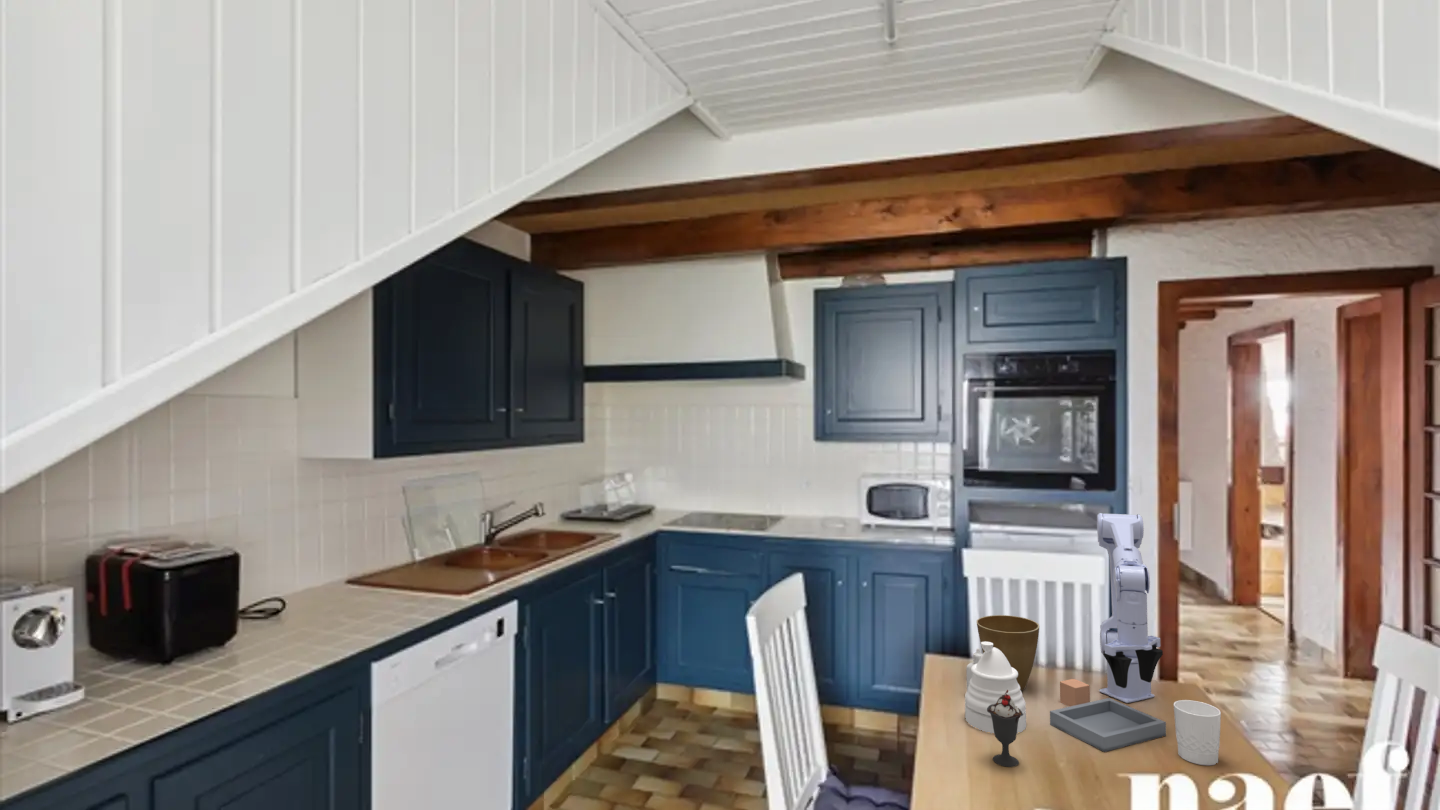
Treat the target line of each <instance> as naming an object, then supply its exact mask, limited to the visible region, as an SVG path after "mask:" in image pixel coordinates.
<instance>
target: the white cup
mask: <svg viewBox="0 0 1440 810" xmlns="http://www.w3.org/2000/svg"><path fill="white" fill-rule="evenodd" d="M1173 712H1174V713H1173V715H1174V716H1173V717H1174V724H1175V725H1174V726H1175V729H1174V730H1175V735H1176V736H1175V737H1176V742H1177V753H1178V756H1179V757H1180V758H1181V759H1183V760H1185V761H1187V762H1189V763H1193V764H1195V765H1199V766H1215V765H1217V764H1218V763H1219V752H1220V751H1219V750H1220V744H1221V743H1220V742H1221V741H1220V738H1221V719H1222V717H1221V714H1222V713H1221V710H1220V709H1219V708H1217V707H1216V706H1214V705H1211V704H1209V703H1206V702H1202V701H1197V700H1190V699H1182V700H1181V699H1179V700H1176V701H1174V702H1173ZM1216 763H1217V764H1216Z"/></svg>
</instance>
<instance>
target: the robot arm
mask: <svg viewBox="0 0 1440 810" xmlns="http://www.w3.org/2000/svg"><path fill="white" fill-rule="evenodd" d="M1144 529H1145V528H1144V520H1143V516H1141V515H1140V514H1139V513H1138V514H1128V513H1126V514H1125V513H1122V514H1120V513H1102V512H1098V514H1097V515H1096V531H1097V542H1098V545H1099V546H1100V547H1101V548H1104V549H1105V550H1106V551H1107V554H1108V558H1109V567H1110V568H1109V569H1110V574H1109V575H1110V590H1111V591H1110V593H1111V594H1110V595H1111V597H1110V598H1111V613H1112V614H1111V616H1110V617H1108V618H1107V619H1105V620H1103V621H1101V624H1100V632H1099V643H1100V644H1099V645H1100V653H1101V654H1102V655H1103V657H1104V659H1105V660H1106V671H1107V672H1106V675H1107V676H1106V677H1107V678H1106V679H1107V680H1106V681H1107V687H1105V688H1101V689H1099V690H1098V692H1100V693H1102V694H1105V695H1106V696H1108V697H1112V698H1113V699H1116V700H1118V701H1120V702H1124V704H1125V703H1126V704H1128V703H1129V704H1130V703H1134V702H1139V701H1144V700H1147V699H1152V698H1155V694H1154V693H1152V681H1153V678H1154V674H1155V670H1156V667H1157V665H1158V663H1159V660H1160V659H1161V657H1162V656H1163V655H1164V651H1163V650H1162V649H1160V647H1161V637H1157V636H1155V635H1149V634H1148V632H1149V631H1148V629H1149V628H1148V625H1149V624H1148V594H1149V593H1150V588H1151V586H1150V585H1151V581H1150V571H1149V570H1148V566H1147V565H1146V564H1144V562H1143V557H1142V552H1141V551H1140V548H1141V545H1142V542H1143V538H1144ZM1111 629H1112V630H1111ZM1113 629H1116V630H1113Z"/></svg>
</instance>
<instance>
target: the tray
mask: <svg viewBox="0 0 1440 810" xmlns="http://www.w3.org/2000/svg"><path fill="white" fill-rule="evenodd" d="M1049 724H1050V726H1052V727H1055V728H1056V729H1058V730H1061V731H1062V732H1064V733H1066V734H1067V735H1070V736H1071V737H1073V738H1076V739H1078V740H1080V741H1081V742H1083V743H1086V744H1087V745H1090V746H1092V747H1094V748H1095V749H1097V750H1099V751H1101V752H1104V753H1105V752H1106V753H1107V752H1110V751H1114V750H1118V749H1122V748H1125V746H1126V747H1129V745H1130V746H1132V745H1137V744H1141V743H1145V742H1148V740H1149V741H1152V739H1153V740H1155V738H1157V739H1160V738H1163V737H1162V736H1164V737H1166V736H1167V721H1164V720H1162V719H1160V718H1157V717H1155V716H1152V715H1150V714H1148V713H1146V712H1143V711H1141V710H1139V709H1136V708H1134V707H1131V706H1129V705H1127V704H1125V703H1122V702H1121V701H1120V702H1119V700H1118V701H1117V700H1115V699H1114V698H1110V697H1107V698H1103V699H1099V700H1093V701H1090V702H1088V703H1084V704H1079V705H1075V706H1067V707H1063V708H1057V709H1053V710H1049ZM1159 737H1160V738H1159ZM1144 741H1145V742H1144ZM1136 743H1137V744H1136Z"/></svg>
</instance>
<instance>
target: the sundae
mask: <svg viewBox="0 0 1440 810" xmlns="http://www.w3.org/2000/svg"><path fill="white" fill-rule="evenodd" d="M1006 693H1008V690H1007V691H1006ZM1006 693H1005V694H1006ZM987 711H988V712H989V713H990V714H991V717H992V722H993V729H994V734H993V735H994V737H995V738H996V740H997V741H998V742H999V743H1000V744H1001V747H1002V749H1001V753H999V754H996V755H994V756H993V757H992V761H993V762H994V763H995V764H997V765H998V766H1001V767H1006V768H1012V767H1017V766H1018V765H1019V764H1020V762H1019V760H1018V758H1016V757H1015V756H1012V755H1010V749H1009V748H1010V747H1009V746H1010V745H1012V744H1013V742H1014V741H1016V739H1017V735H1018V733H1017V727H1018V721H1019V718H1020V716H1022V715H1023V713H1022V711H1021V710H1020V709H1019V708H1017V706H1015V703H1014V701H1013V700H1012V699H1011V698H1010V696H1009V695H1007V694H1006V695H1002V696H1001V697H1000V698H998V700H997V702H996V704H992V705H989V706H988V708H987Z"/></svg>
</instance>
